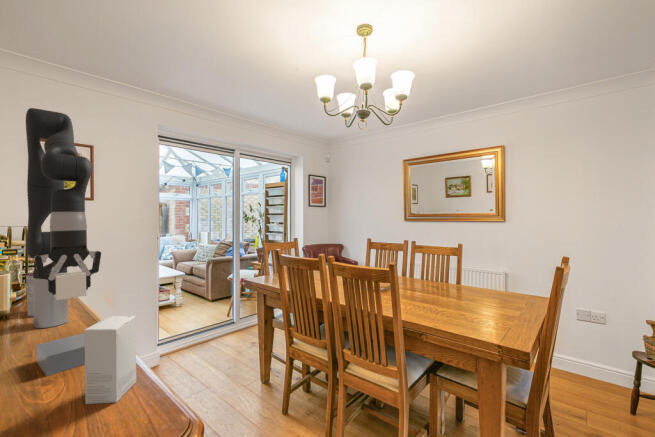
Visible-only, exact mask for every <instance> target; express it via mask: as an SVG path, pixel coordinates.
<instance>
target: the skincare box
mask: <svg viewBox="0 0 655 437" xmlns="http://www.w3.org/2000/svg"><path fill="white" fill-rule="evenodd" d="M136 319H137V316H136V315H115V316H113V315H111V316H106V317H105V318H103V319H101V320H99V321H98V322H96V323H95V324H93V325H91V326H88V327H87V328H85V329H83V330H84V333H85V365H84V384H85V385H84V388H85V389H84V393H85V394H84V396H85V397H84V399H85V405H94V404H98V405H99V404H113V403H114V404H115V403H118V402H119V401H120V400H121V398H122V397H123V396H125V394H126V393H127V392H128V391H129V390H130V389H131V388H132V387H133V386H134V385H135V384H136V383H137V351H136V350H137V345H136V344H137V343H136V342H137V339H136V338H137V335H136V333H137V331H136V329H137V328H136V325H137V324H136V322H137V321H136Z"/></svg>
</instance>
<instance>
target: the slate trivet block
mask: <svg viewBox="0 0 655 437" xmlns="http://www.w3.org/2000/svg"><path fill="white" fill-rule="evenodd" d="M36 363H37V364H38V366H39V367H40V369H41V370H42V372H43V373H44V375H45V377H48V376H52V375H56V374H58V373H62V372H65V371H68V370H71V369H75V368H78V367H82V366H85V332H82V333H77V334H74V335H70V336H67V337H66V336H65V337H62V338H61V337H60V338H58V339H53V340H50V341H49V340H48V341H45V342H41V343H38V344H36Z"/></svg>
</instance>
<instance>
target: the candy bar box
mask: <svg viewBox="0 0 655 437" xmlns="http://www.w3.org/2000/svg"><path fill="white" fill-rule="evenodd" d="M25 283H26V284H25V286H26V287H25V288H26V308H27V310H26V311H27V317H33V318H34V302H33V273H31V274H30V273H29V274H26V275H25Z"/></svg>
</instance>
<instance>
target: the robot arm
mask: <svg viewBox="0 0 655 437" xmlns="http://www.w3.org/2000/svg"><path fill="white" fill-rule="evenodd" d="M25 130H26V131H25V133H26V146H27V161H28V162H27V179H26V180H27V184H26V186H27V188H26V191H27V207H28V210H27V211H28V215H27V216H28V218H27V219H28V220H27V233H26V244H25V245H26V253H27V256H28V257H29V258H31V259H34V263H35V267H36V268H35V269H34V270H33V271H32V274H33V302H34V317H33V328H34V329H35V328H36V329H45V328H52V327H57V326H61V325H63V324H66V323H68V322H69V298H67V299H60V300H56V298H55V297H54V295H55V294H56V280H55V277H56V275H57V274H59V273H68V268H69V267H73V268H75V267H76V268H77V267H79V269H80V271H82V272H85V273H86V291H88V290H89V288H91V286H92V284H91V283H92V282H91V277H92V275H94V274H97V273H98V272H99V270H100V265H101V264H100V263H101V258H102V257H101V256H102V251H99V250H94V251H91V250H90V251H89V249H88V242H87V241H88V238H87V237H88V236H87V233H88V232H87V229H88V224H87V217H86V201H85V200H86V192H87V188H88V184H89V182H90V179H91V177H92V176H91V175H92V173H93V164H92V162H91V160H90V159H88V158H87V157H85V156H81V155H79V153H78V150H77V148H76V145H75V137H74V127H73V122H72V120H71V118H70V117H69V115H68V114H65V113H63V112H60V111H59V112H58V111H53V110H46V109H41V108H35V107H29V108H28V109H27V111H26V114H25ZM41 140H45V141H44V143H43V147H42V144H41ZM43 148H44V149H43ZM65 182H74V186H73V187H70V188H65ZM49 216H50V217H49ZM48 217H49V231H41V229H42V227H43V225H44V223H45V221H46V220H47V218H48ZM88 256H90V258H91V259H92V266H91V269H89V268H88V266H87V265H86V263H85V262H84V261H86V259H87V258H88ZM47 259H49V260H51V261H52V262H50V263H48V264H45V263H46V262H47ZM43 264H45V265H43Z"/></svg>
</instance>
